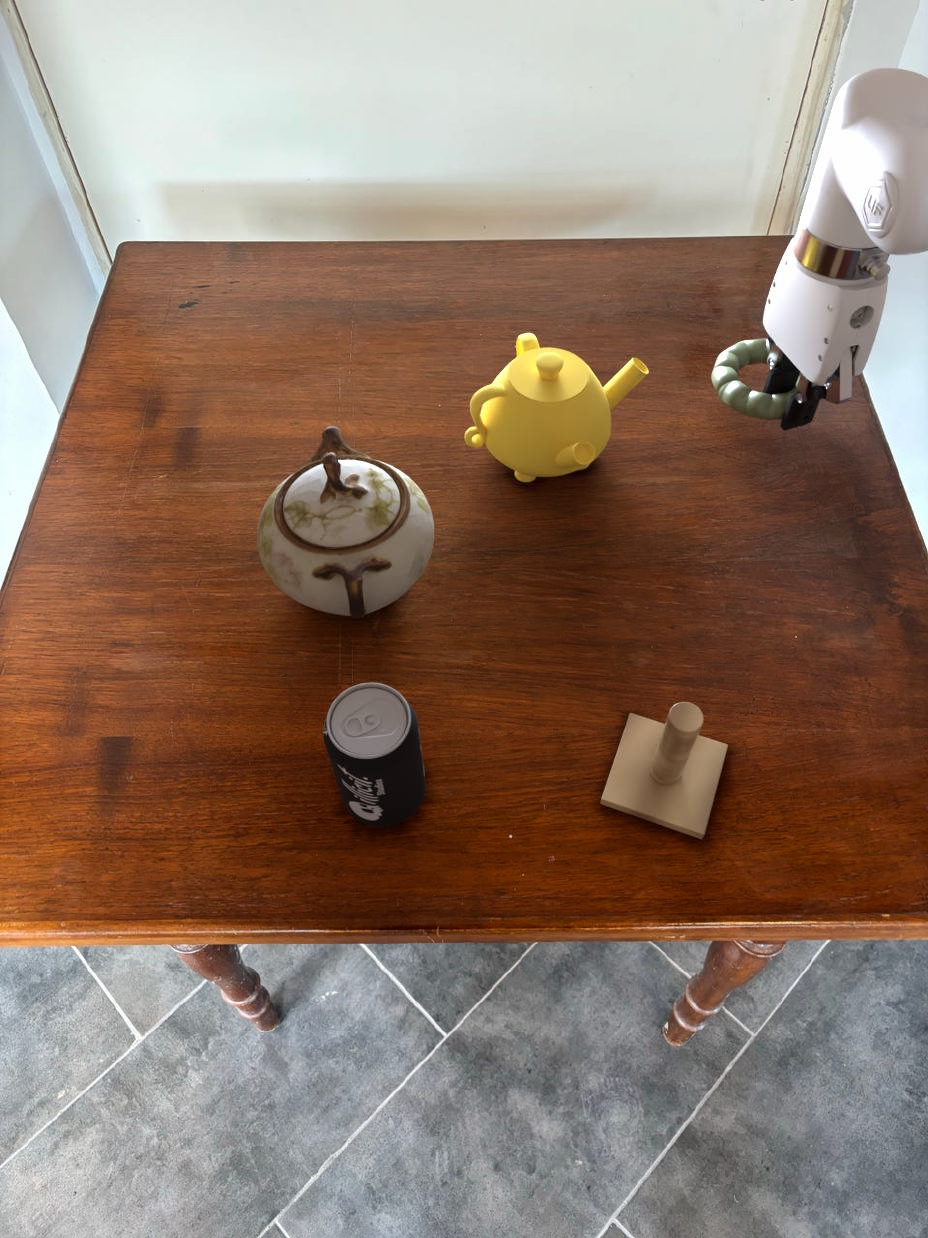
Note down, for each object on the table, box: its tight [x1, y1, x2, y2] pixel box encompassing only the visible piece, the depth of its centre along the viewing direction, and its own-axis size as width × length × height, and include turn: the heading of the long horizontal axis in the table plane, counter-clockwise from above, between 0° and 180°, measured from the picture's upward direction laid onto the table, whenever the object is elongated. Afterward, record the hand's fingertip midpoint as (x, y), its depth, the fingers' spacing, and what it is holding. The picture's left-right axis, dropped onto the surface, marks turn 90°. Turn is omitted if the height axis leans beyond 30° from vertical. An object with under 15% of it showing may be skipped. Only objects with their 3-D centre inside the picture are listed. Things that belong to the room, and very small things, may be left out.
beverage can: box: [322, 682, 427, 828], centre depth 69 cm, size 7×7×12 cm
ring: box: [710, 338, 816, 421], centre depth 93 cm, size 10×10×2 cm
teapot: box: [464, 332, 650, 483], centre depth 89 cm, size 14×14×11 cm
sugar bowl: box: [256, 425, 435, 619], centre depth 79 cm, size 20×15×15 cm
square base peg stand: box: [599, 701, 729, 840], centre depth 70 cm, size 8×8×10 cm
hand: (785, 411), depth 91 cm, fingers closed on ring, 2 cm apart
